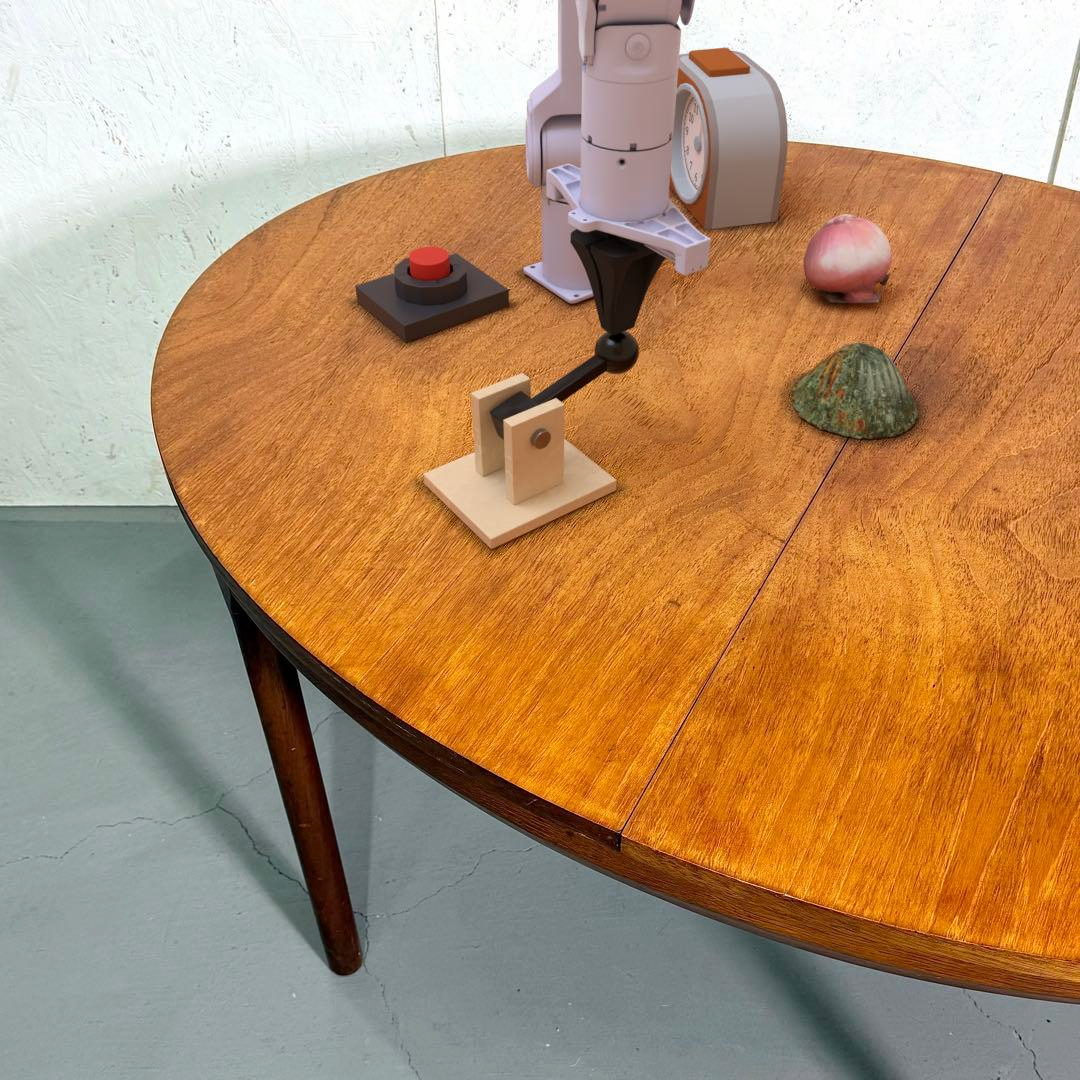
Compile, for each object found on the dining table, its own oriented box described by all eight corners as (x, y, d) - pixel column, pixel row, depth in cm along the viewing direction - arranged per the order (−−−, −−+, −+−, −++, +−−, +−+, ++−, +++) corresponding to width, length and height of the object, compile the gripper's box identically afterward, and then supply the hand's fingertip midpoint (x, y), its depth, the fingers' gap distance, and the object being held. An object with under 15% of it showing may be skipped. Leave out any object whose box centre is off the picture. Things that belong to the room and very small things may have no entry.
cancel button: (437, 260, 98) (435, 242, 97) (457, 275, 96) (456, 257, 95) (403, 271, 97) (401, 253, 95) (423, 286, 94) (422, 268, 93)
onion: (851, 266, 103) (865, 195, 98) (903, 302, 98) (921, 228, 93) (782, 284, 101) (794, 212, 96) (833, 321, 95) (848, 247, 91)
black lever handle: (623, 347, 79) (616, 313, 76) (651, 366, 77) (644, 332, 74) (494, 436, 76) (483, 403, 73) (520, 457, 74) (509, 425, 71)
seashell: (793, 379, 81) (812, 317, 88) (781, 423, 83) (800, 359, 90) (927, 412, 79) (935, 346, 86) (910, 456, 81) (919, 388, 89)
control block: (457, 269, 103) (455, 235, 101) (509, 306, 98) (508, 271, 96) (357, 302, 99) (352, 267, 96) (406, 343, 93) (402, 307, 91)
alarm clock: (655, 173, 120) (663, 47, 111) (726, 166, 122) (739, 40, 113) (701, 230, 109) (714, 95, 100) (778, 221, 111) (797, 87, 102)
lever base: (544, 432, 83) (544, 345, 78) (616, 490, 78) (621, 401, 72) (423, 484, 78) (414, 395, 73) (491, 550, 73) (486, 459, 68)
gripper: (507, 114, 69) (512, 302, 78) (653, 189, 60) (640, 392, 69) (594, 91, 72) (589, 275, 81) (744, 159, 63) (720, 357, 72)
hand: (617, 327), depth 75 cm, fingers closed
